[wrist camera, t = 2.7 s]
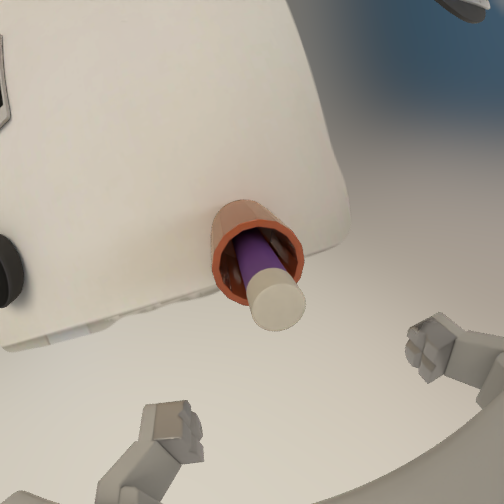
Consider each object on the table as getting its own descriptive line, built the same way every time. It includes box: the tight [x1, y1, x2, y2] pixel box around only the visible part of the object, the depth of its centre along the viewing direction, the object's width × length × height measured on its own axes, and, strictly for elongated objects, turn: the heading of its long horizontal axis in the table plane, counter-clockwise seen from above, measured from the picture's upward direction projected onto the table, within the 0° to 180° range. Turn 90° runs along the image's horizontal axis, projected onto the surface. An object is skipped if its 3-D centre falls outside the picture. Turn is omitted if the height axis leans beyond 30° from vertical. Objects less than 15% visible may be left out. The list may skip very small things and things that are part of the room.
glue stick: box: [232, 227, 306, 331], centre depth 19 cm, size 3×3×14 cm
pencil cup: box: [211, 200, 304, 306], centre depth 22 cm, size 6×6×9 cm
